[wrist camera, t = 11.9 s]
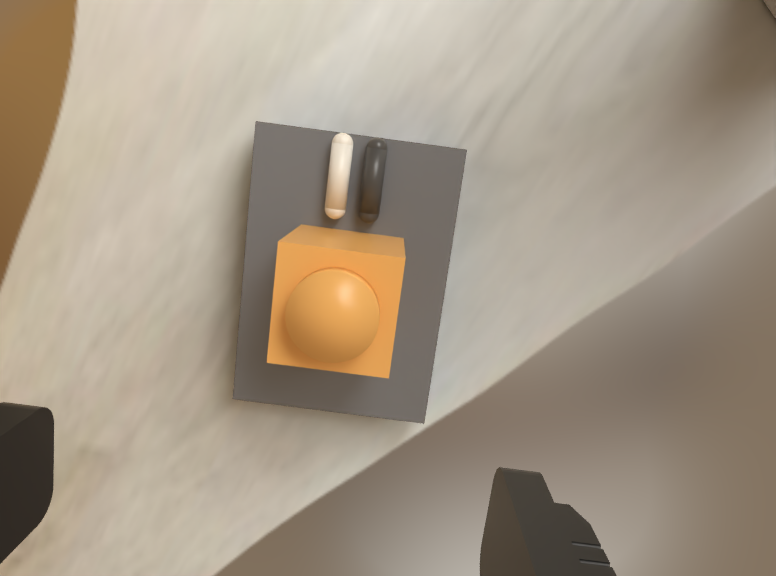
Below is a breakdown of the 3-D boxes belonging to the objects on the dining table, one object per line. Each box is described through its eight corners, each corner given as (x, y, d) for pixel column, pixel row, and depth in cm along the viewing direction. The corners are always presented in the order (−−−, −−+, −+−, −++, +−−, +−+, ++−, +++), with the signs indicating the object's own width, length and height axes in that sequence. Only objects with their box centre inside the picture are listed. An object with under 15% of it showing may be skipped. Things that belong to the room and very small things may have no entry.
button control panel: (268, 124, 31) (226, 113, 23) (460, 150, 31) (481, 148, 24) (246, 378, 34) (202, 443, 26) (421, 400, 34) (429, 472, 27)
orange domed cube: (301, 224, 29) (272, 244, 23) (403, 238, 29) (406, 262, 23) (291, 323, 30) (261, 371, 24) (390, 335, 30) (388, 387, 24)
